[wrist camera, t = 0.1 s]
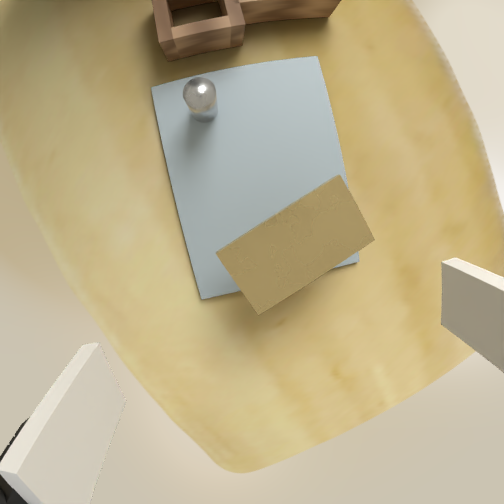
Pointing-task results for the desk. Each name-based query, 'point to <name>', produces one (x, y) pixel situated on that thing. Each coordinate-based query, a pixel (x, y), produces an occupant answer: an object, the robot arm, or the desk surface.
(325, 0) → the link
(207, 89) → the cylinder
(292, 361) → the desk surface
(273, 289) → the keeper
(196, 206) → the board
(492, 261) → the desk surface
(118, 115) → the desk surface
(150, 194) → the desk surface
